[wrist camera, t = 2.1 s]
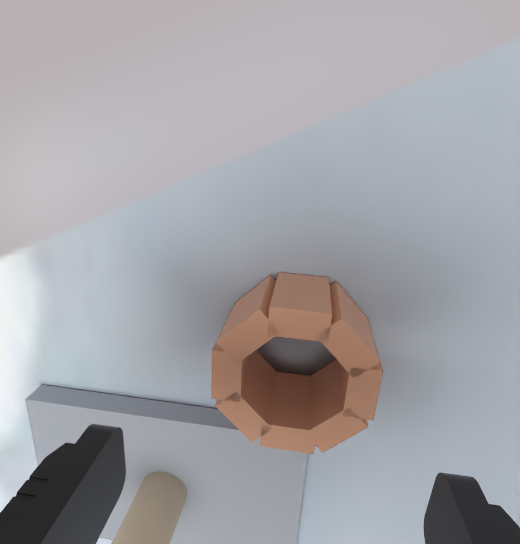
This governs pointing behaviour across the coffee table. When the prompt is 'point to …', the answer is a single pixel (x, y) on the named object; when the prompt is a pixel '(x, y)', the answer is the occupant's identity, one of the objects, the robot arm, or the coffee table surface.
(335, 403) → the ring
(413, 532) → the coffee table surface
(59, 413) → the post block
